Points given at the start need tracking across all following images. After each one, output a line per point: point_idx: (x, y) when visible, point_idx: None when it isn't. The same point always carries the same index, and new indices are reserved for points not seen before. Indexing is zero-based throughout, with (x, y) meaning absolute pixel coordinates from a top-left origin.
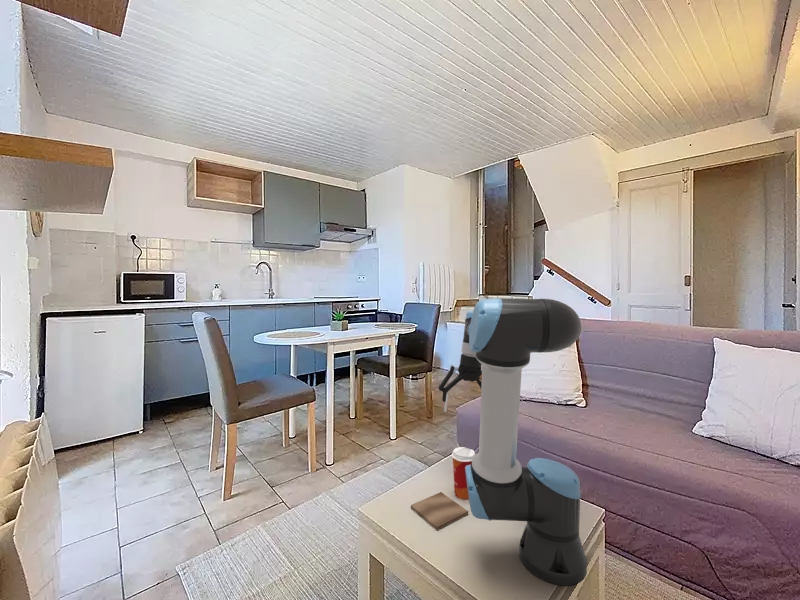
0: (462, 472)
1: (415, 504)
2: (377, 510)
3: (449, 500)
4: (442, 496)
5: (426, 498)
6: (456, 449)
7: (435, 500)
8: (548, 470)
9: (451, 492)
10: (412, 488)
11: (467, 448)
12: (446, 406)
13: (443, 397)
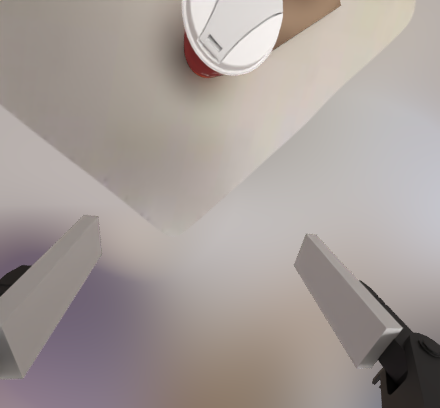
0: None
1: (330, 6)
2: (395, 14)
3: None
4: None
5: (301, 30)
6: (263, 41)
7: (284, 16)
8: None
9: None
10: (308, 96)
11: (214, 47)
12: (325, 253)
13: (380, 303)
